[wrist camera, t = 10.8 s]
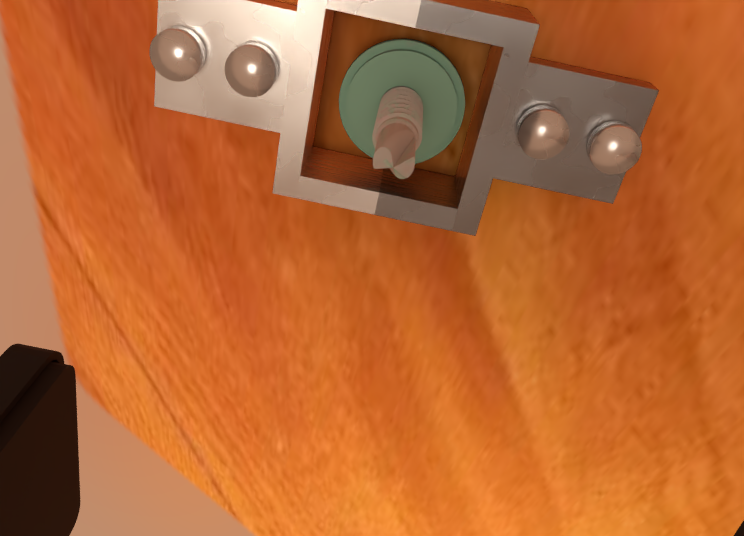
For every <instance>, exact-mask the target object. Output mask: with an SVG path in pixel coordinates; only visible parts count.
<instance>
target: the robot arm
mask: <svg viewBox="0 0 744 536" xmlns="http://www.w3.org/2000/svg"><path fill="white" fill-rule="evenodd" d="M76 407H77V406H76V379H75V369H74V367H73V366H71V365H66V364H64V359H63V356H62V354H61V353H60V352H57V351H53V350H47V349H42V348H37V347H32V346H27V345H22V344H15V345H12V346H10V347H9V348H8V349H7V350H6V351H5V352H4V353H3V354H2V355H1V356H0V536H69V535H70V533H71V531H72V529H73V527H74V525H75V523H76V520H77V517H78V513H79V508H80V487H79V486H80V485H79V484H80V483H79V457H78V431H77V408H76ZM734 536H744V521H743V522H742V524H741V525H740V527H739V528H738V530H737V532H736V533H735V535H734Z"/></svg>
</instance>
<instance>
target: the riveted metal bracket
mask: <svg viewBox="0 0 744 536" xmlns="http://www.w3.org/2000/svg"><path fill="white" fill-rule="evenodd" d="M334 11H340V12H344V13H349V14H354V15H358V16H363V17H367V18H372V19H376V20H381V21H386V22H390V23H395V24H399V25H404V26H408V27H413V28H418V29H422V30H427V31H431V32H436V33H440V34H445V35H450V36H454V37H459V38H463V39H468V40H472V41H477V42H482V43H486V44H491V48H490V52H489V55H488V59H487V62H486V66H485V70H484V73H483V77H482V81H481V84H480V88H479V92H478V95H477V99H476V102H475V106H474V110H473V113H472V117H471V121H470V124H469V128H468V132H467V135H466V139H465V143H464V146H463V150H462V153H461V157H460V161H459V164H458V168H457V172H456V175H455V177H454V176H449V175H444V174H439V173H435V172H430V171H425V170H421V169H416V168H414V170H413V172H412V174H411V175H410V176H409V177H408V178H405V179H400V178H397V177H396V176H395V175H394V174H393V172H392V171H391V170H390V168H381V169H374V167H373V159H369V158H364V157H359V156H355V155H350V154H345V153H340V152H336V151H331V150H326V149H322V148H317V147H313V143H314V136H315V130H316V124H317V118H318V111H319V105H320V99H321V93H322V86H323V80H324V74H325V68H326V61H327V55H328V49H329V43H330V36H331V30H332V24H333V18H334ZM538 29H539V23H538V22H537V21H536V19H535V18H534V17H533V15H532V14H531V13H530V12H529V10H528V9H526V8H522V7H517V6H513V5H508V4H504V3H499V2H495V1H490V0H298V6H297V5H292V4H288V3H283V2H279V1H274V0H158V22H157V35H156V36H155V37H154V39H153V40H152V42H151V45H150V59H151V62H152V64H153V66H154V68H155V69H156V75H155V102H154V106H156V107H160V108H165V109H170V110H174V111H179V112H184V113H188V114H193V115H198V116H203V117H207V118H212V119H217V120H221V121H226V122H231V123H236V124H240V125H245V126H250V127H254V128H259V129H264V130H268V131H273V132H278V133H281V134H280V141H279V148H278V156H277V163H276V171H275V178H274V186H273V193H274V194H279V195H283V196H288V197H293V198H298V199H303V200H307V201H312V202H317V203H322V204H326V205H331V206H336V207H341V208H345V209H350V210H355V211H360V212H365V213H369V214H374V215H379V216H384V217H388V218H393V219H398V220H403V221H407V222H412V223H417V224H422V225H427V226H431V227H436V228H441V229H446V230H450V231H455V232H460V233H465V234H470V235H474V236H475V235H476V232H477V229H478V225H479V222H480V219H481V216H482V212H483V209H484V206H485V202H486V199H487V196H488V193H489V189H490V186H491V183H492V179H493V178H494V179H499V180H504V181H509V182H513V183H518V184H523V185H527V186H532V187H537V188H541V189H546V190H551V191H556V192H560V193H565V194H570V195H574V196H579V197H584V198H589V199H593V200H598V201H603V202H607V203H612V204H613V202H614V200H615V197H616V195H617V192H618V190H619V188H620V185H621V183H622V180H623V178H624V175H625V173H626V171H627V170H629V169H630V168H632V167H633V166H634V165H635V164H636V162H637V161H638V159H639V157H640V155H641V151H642V143H641V140H640V136H641V133H642V131H643V129H644V126H645V124H646V121H647V119H648V116H649V114H650V111H651V109H652V106H653V104H654V102H655V99H656V97H657V94H658V92H659V90H658V89H657V88H656V87H655V86H653V85H652V84H651V83H649V82H644V81H640V80H635V79H631V78H626V77H622V76H617V75H612V74H608V73H603V72H599V71H594V70H590V69H585V68H580V67H576V66H571V65H567V64H562V63H558V62H553V61H548V60H544V59H539V58H535V57H530V55H531V51H532V48H533V45H534V42H535V38H536V35H537V32H538Z"/></svg>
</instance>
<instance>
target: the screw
mask: <svg viewBox="0 0 744 536" xmlns="http://www.w3.org/2000/svg"><path fill="white" fill-rule="evenodd" d="M339 111H340V117H341V120H342V123H343V126H344V128H345V130H346V132H347V134H348V136H349V137H350V139H351V140H352V141H353V143H354V144H355V145H356V146H357V147H358V148H359V149H360V150H361V151H363V152H364V153H365V154H367V155H368V156H370V157H372V158H373V167H374V169H381V168H390V170H391V171H392V172H393V174H394V175H395V176H396V177H397V178H400V179H405V178H408V177H409V176H410V175H411V174H412V172H413V170H414V166H415V164H416V163H420V162H423V161H426V160H428V159H430V158H432V157H434V156H436V155H437V154H439V153H440V152H441V151H442V150H444V149H445V148H446V147H447V146H448V145H449V144H450V143H451V142H452V140H453V139H454V137H455V136H456V134H457V132H458V130H459V128H460V126H461V123H462V120H463V117H464V111H465V94H464V88H463V84H462V81H461V78H460V76H459V74H458V72H457V70H456V68H455V67H454V65H453V64H452V63H451V61H450V60H449V59H448V58H447V57H446V56H445V55H444V54H443V53H442V52H440V51H439V50H437V49H436V48H435V47H433V46H431V45H429V44H426V43H424V42H421V41H417V40H412V39H393V40H387V41H384V42H381V43H378V44H376V45H374V46H372V47H370V48H368V49H367V50H366V51H364V52H363V53H362V54H361V55H359V57H358V58H357V59H356V60H355V61H354V62H353V63H352V65H351V66H350V68H349V69H348V71H347V73H346V75H345V77H344V79H343V82H342V85H341V89H340V95H339Z"/></svg>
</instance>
